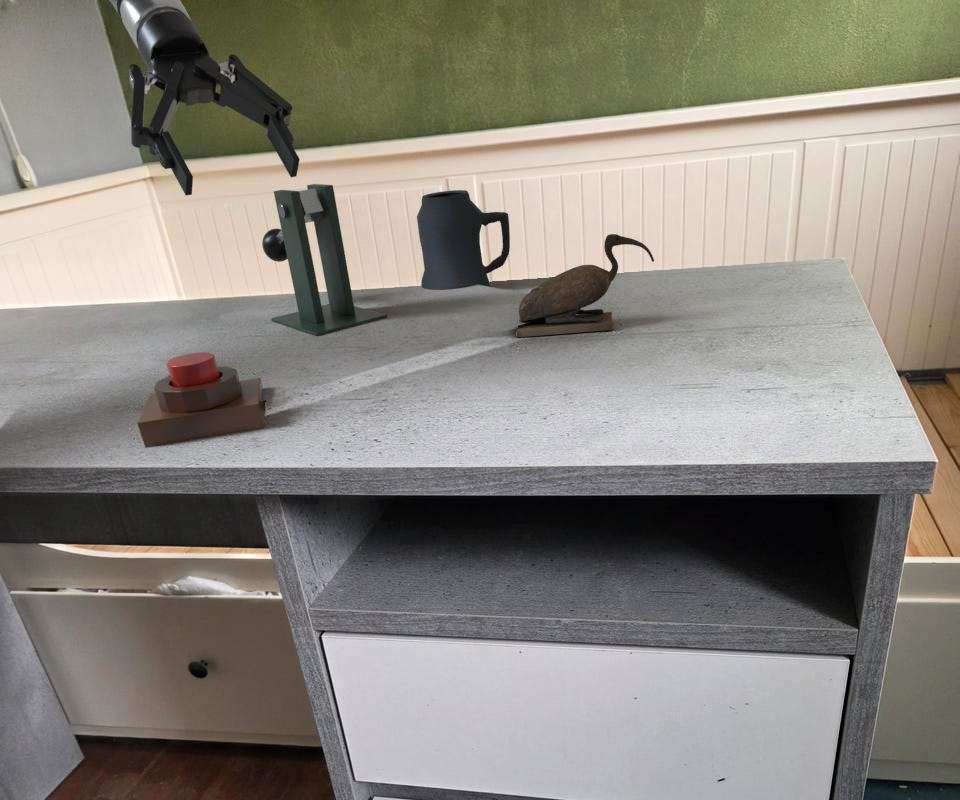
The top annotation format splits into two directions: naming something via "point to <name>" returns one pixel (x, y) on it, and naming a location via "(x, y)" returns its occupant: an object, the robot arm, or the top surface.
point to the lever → (274, 237)
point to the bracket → (333, 263)
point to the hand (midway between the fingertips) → (244, 177)
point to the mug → (456, 241)
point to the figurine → (572, 298)
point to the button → (193, 369)
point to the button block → (202, 409)
